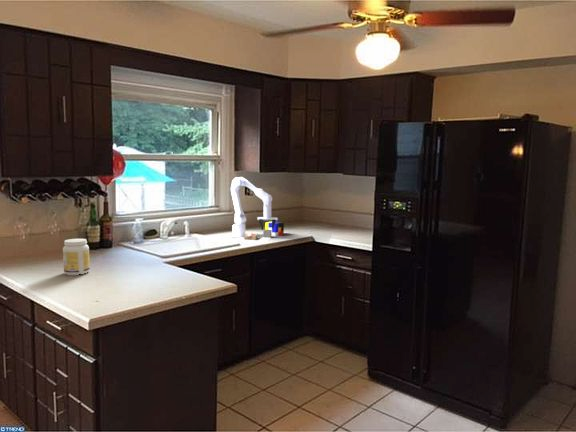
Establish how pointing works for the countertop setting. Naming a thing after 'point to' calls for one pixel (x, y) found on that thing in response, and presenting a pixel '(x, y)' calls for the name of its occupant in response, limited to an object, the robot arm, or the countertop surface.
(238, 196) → the robot arm
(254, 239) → the collar
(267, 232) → the block
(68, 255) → the supplement tub
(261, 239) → the board
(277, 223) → the puzzle toy
